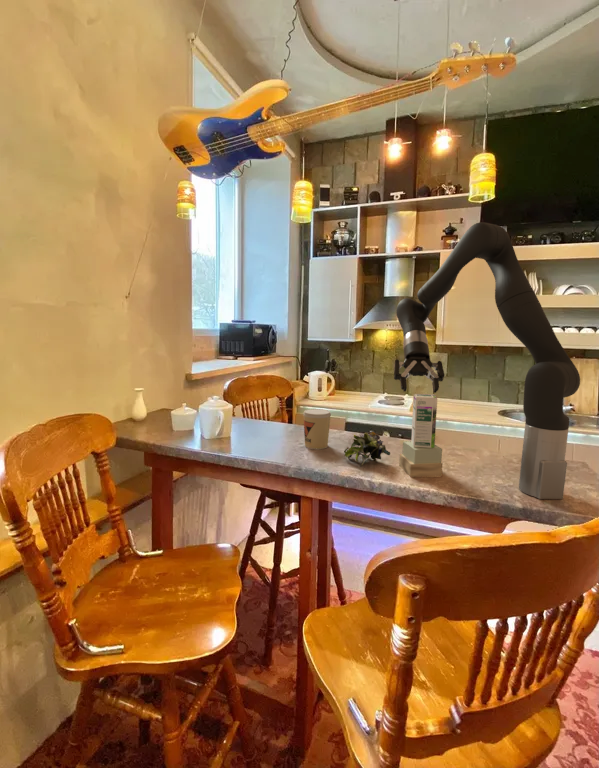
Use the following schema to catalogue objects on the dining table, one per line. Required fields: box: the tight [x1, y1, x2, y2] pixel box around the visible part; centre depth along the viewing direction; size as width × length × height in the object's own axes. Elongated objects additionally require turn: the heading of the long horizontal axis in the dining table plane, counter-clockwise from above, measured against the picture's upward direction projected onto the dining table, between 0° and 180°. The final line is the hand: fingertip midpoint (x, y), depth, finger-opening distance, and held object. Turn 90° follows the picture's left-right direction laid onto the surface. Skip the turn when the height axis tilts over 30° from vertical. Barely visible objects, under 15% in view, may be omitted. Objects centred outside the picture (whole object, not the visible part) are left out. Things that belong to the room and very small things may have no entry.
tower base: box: [398, 453, 443, 478], centre depth 116 cm, size 9×9×4 cm
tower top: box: [401, 440, 443, 464], centre depth 116 cm, size 8×8×4 cm
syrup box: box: [410, 393, 438, 448], centre depth 114 cm, size 6×6×14 cm
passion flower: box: [343, 431, 391, 467], centre depth 122 cm, size 11×11×12 cm
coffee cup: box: [302, 408, 332, 450], centre depth 138 cm, size 9×9×12 cm
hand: (420, 390), depth 117 cm, fingers open, 8 cm apart
